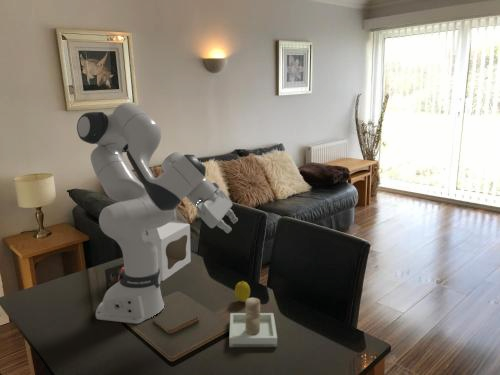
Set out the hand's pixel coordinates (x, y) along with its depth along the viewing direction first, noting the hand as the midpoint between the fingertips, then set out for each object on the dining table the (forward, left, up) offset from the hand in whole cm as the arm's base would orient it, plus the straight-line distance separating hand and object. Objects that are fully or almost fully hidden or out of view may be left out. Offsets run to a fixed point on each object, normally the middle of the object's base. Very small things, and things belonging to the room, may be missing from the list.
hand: (233, 226), depth 131 cm
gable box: (-30, +37, -31) cm, 57 cm away
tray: (+6, -12, -31) cm, 34 cm away
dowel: (+6, -12, -30) cm, 33 cm away
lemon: (+3, +8, -31) cm, 32 cm away
